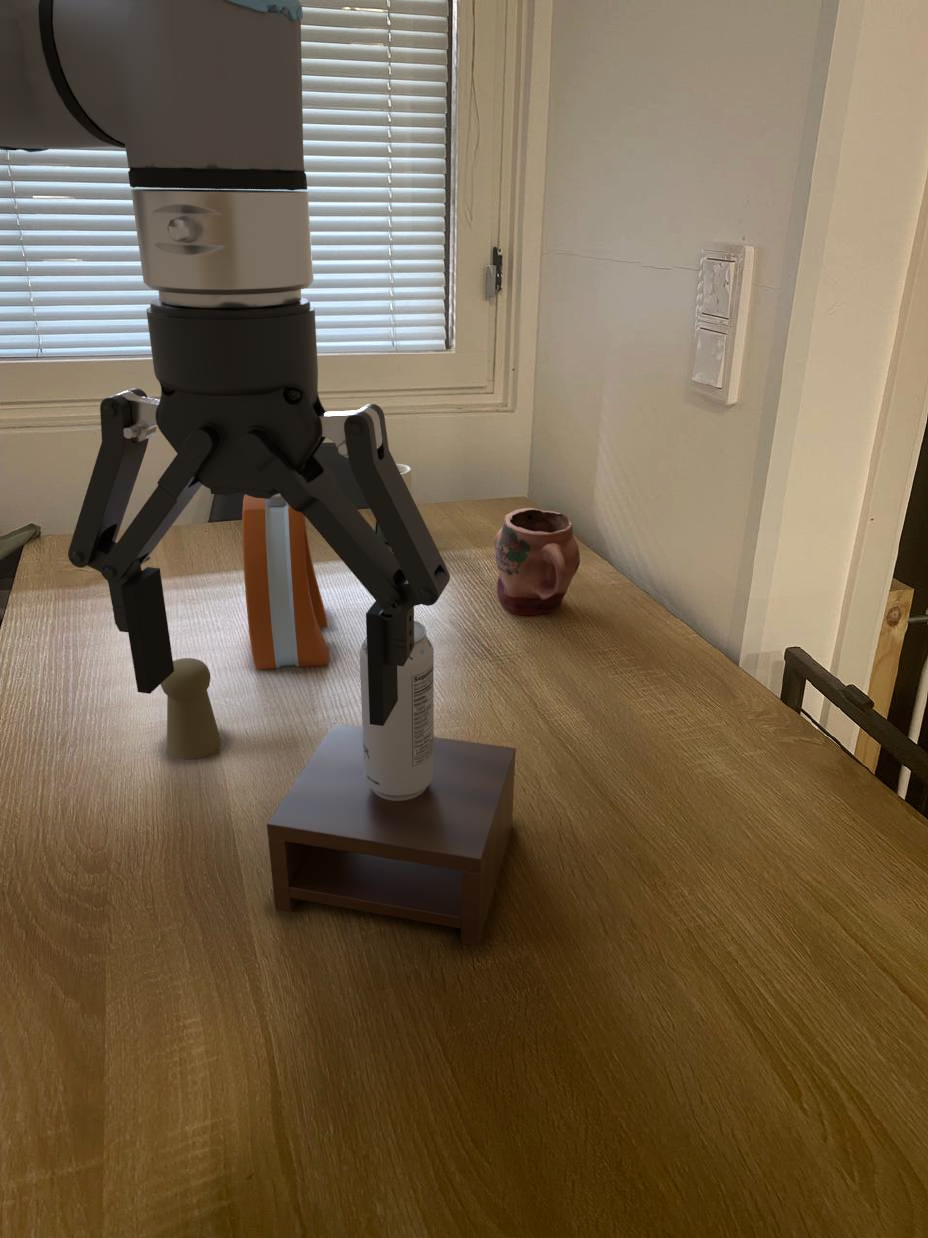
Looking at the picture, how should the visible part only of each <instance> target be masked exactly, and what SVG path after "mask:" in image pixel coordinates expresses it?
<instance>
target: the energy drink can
mask: <svg viewBox="0 0 928 1238" xmlns="http://www.w3.org/2000/svg"><path fill="white" fill-rule="evenodd" d="M365 633H366V637H365V639H364V640H363V642H362V644H361V645H360V647H359V672H360V674H359V675H360V697H361V698H360V699H361V719H362V720H361V722H362V727H363V750H364V775H365V781H366V783H367V784H368V785H369V786H370V787H371V788H372V790H373V791H374V792H375V794H377V795H378V796H380V797H382V798H384V799H387V800H393V801H403V800H409V799H412V798H415V797H417V796H419V795H420V794H422V793H423V792H424V791H425V789H426V787H427V786H428V785H429V784H430V783H431V781H432V779H433V774H434V737H435V735H434V732H435V731H434V723H435V722H434V721H435V719H434V714H435V713H434V708H435V707H434V703H435V701H434V695H435V694H434V693H435V692H434V690H435V689H434V688H435V687H434V685H435V684H434V680H435V679H434V673H435V672H434V669H435V668H434V664H435V663H434V662H435V661H434V659H435V658H434V657H435V655H434V652H435V651H434V646H433V644H432V642H431V641H430V639H429V637H428V636H427V629H426V627H425V626H424V624H422V623H421V622H418V621H417V620H414V648H413V650H412V652H411V655H410V656H409V658H408V660H407V661H406V663H405V665H404V666H397V682H398V701H397V703H396V705H395V707H394V708H393V710H392V712H391V713H390V715H389V717H388V719H387V720H386V722H385V724H384V726H379V725H372V724H370V716H369V688H368V659H367V630H366V632H365Z"/></svg>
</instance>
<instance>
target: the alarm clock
mask: <svg viewBox="0 0 928 1238" xmlns="http://www.w3.org/2000/svg"><path fill="white" fill-rule="evenodd" d="M241 512H242V513H241V521H242V522H241V525H242V528H241V529H242V531H241V533H242V535H241V536H242V537H241V539H242V541H241V542H242V557H243V577H244V579H243V580H244V590H245V602H246V604H245V605H246V614H247V616H246V617H247V626H248V635H249V642H250V649H251V657H252V661H253V666H254V668H255V669H256V670H259V671H262V670H263V671H265V670H277V669H279V668H280V667H291V666H293V667H294V666H295V667H297V668H309V667H310V668H311V667H323V666H327V665H329V664H330V661H331V660H330V647H329V646H328V644H327V642H326V639H325V638H324V637H325V636H324V635H323V633H322V630H321V628H326V627H328V626H329V624H328V619H327V611H326V609H325V605H324V602H323V597H322V594H321V591H320V588H319V584H318V579H317V575H316V571H315V567H314V563H313V558H312V554H311V553H312V552H311V547H310V542H309V536H308V529H307V523H306V517H305V515H304V514H303V513H301V512H298V511H295V510H294V509H292V508H291V507H290V506H289V504H288V503H287V502H286V501H285V500H284V498H283V497H282V496H281V495H280V494H277V495H274V496H273V497H271V498H270V499H263V498H254V497H251V496H248V495H246V494H244V496H243V499H242V511H241Z"/></svg>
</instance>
